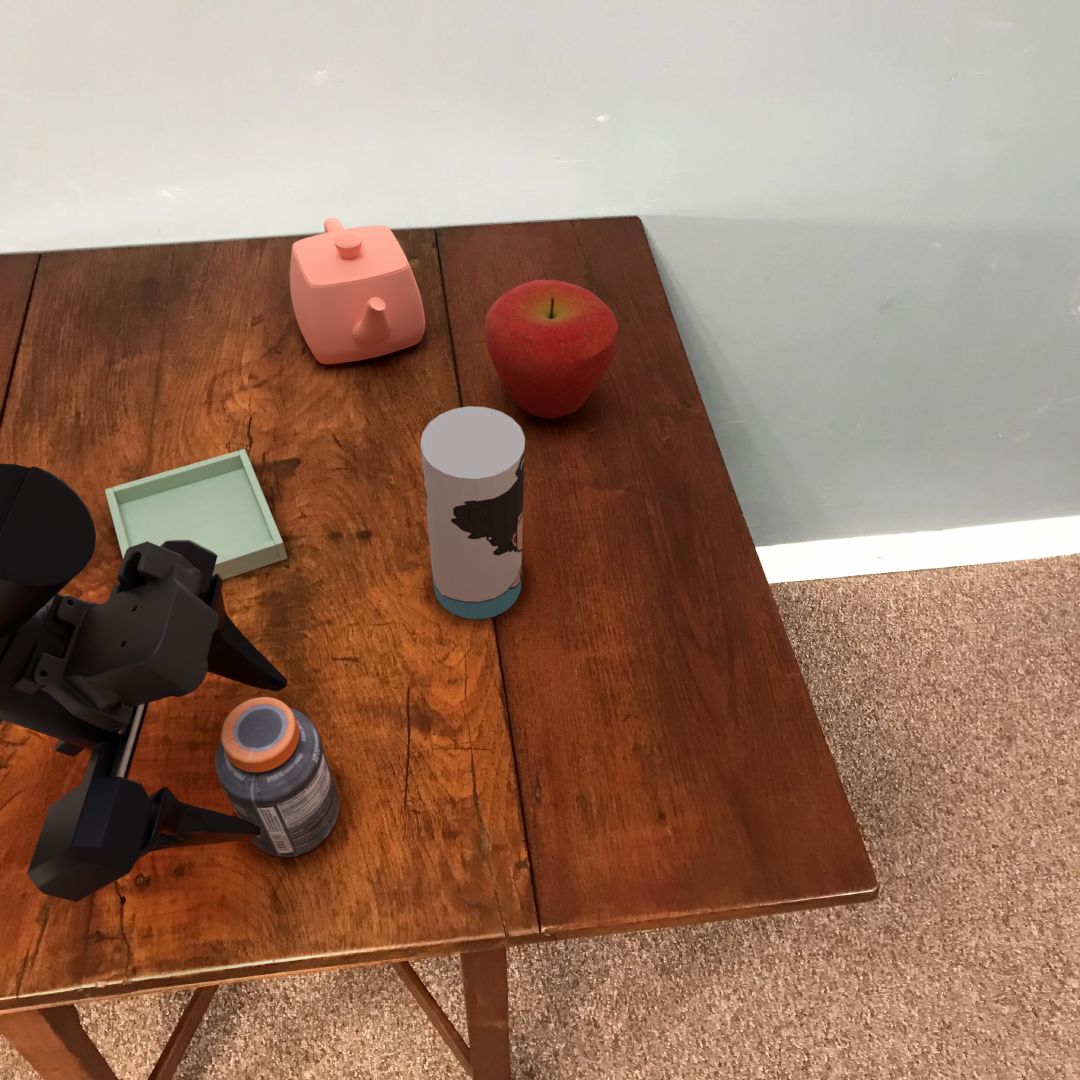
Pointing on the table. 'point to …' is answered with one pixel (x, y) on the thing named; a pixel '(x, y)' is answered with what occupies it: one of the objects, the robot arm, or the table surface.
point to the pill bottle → (277, 776)
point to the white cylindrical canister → (474, 509)
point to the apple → (550, 345)
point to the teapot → (354, 293)
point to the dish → (201, 513)
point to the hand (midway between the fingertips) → (270, 756)
